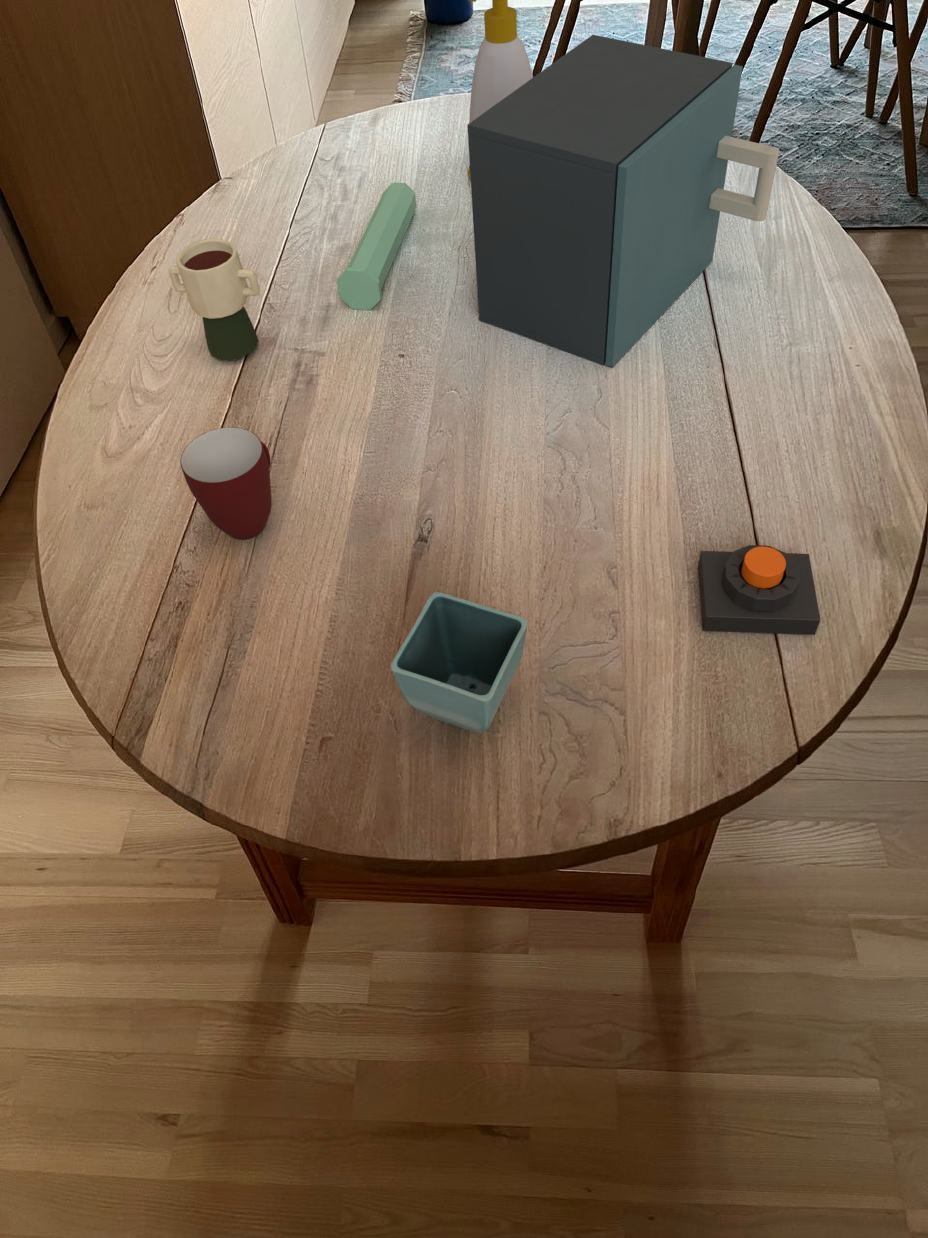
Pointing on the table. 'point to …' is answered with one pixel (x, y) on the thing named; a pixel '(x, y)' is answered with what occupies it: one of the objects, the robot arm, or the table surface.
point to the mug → (230, 479)
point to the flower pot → (459, 660)
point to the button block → (756, 596)
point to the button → (763, 567)
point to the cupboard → (567, 184)
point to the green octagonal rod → (377, 248)
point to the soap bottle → (498, 60)
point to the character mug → (218, 295)
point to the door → (678, 209)
